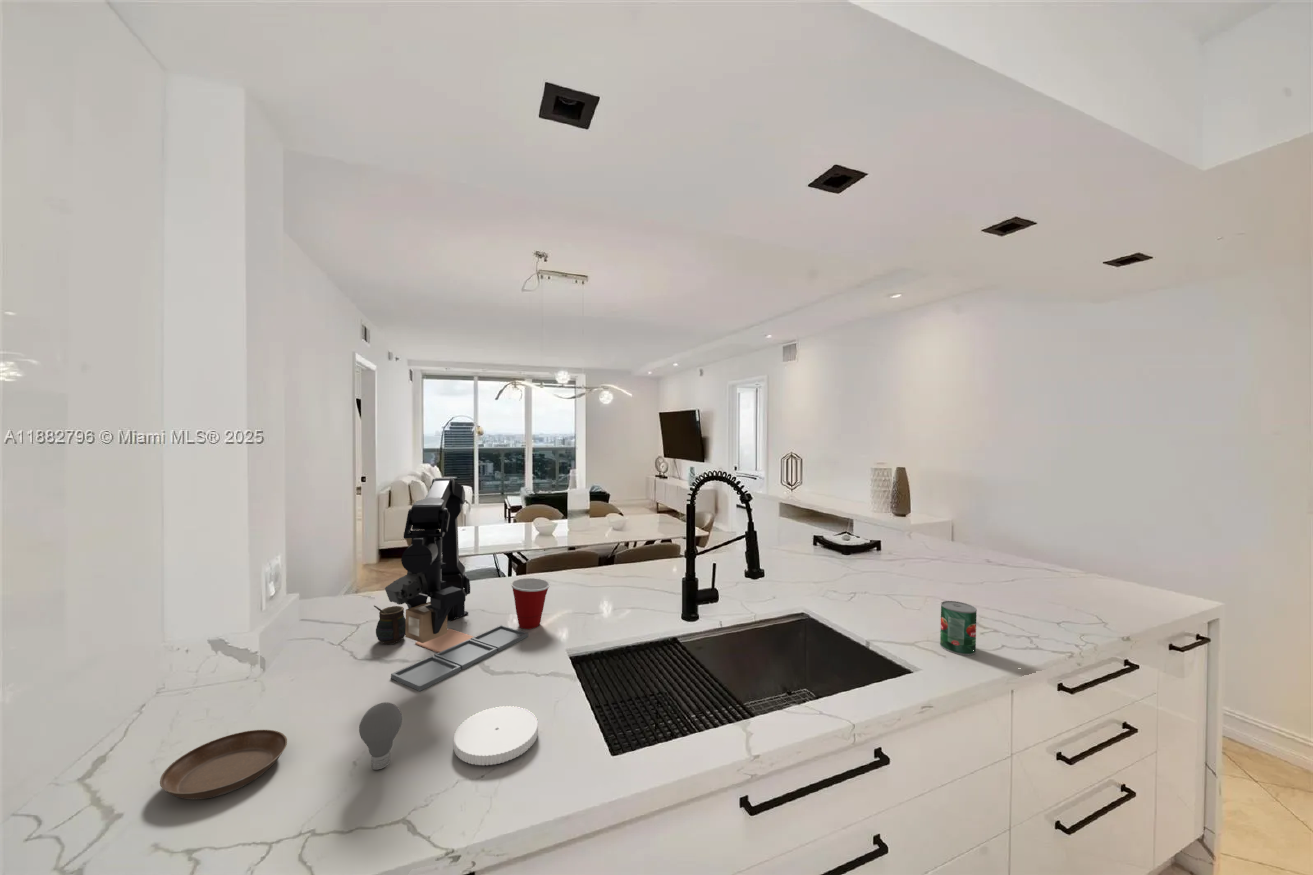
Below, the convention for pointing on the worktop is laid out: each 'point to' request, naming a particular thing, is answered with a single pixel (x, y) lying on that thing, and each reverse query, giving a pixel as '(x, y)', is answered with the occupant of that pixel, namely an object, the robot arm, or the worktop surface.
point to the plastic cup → (529, 600)
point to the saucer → (223, 764)
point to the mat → (445, 641)
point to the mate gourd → (391, 625)
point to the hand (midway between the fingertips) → (426, 630)
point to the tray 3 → (500, 637)
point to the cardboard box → (421, 624)
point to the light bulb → (380, 732)
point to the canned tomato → (958, 627)
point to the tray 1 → (425, 672)
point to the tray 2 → (466, 653)
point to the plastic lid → (495, 735)
